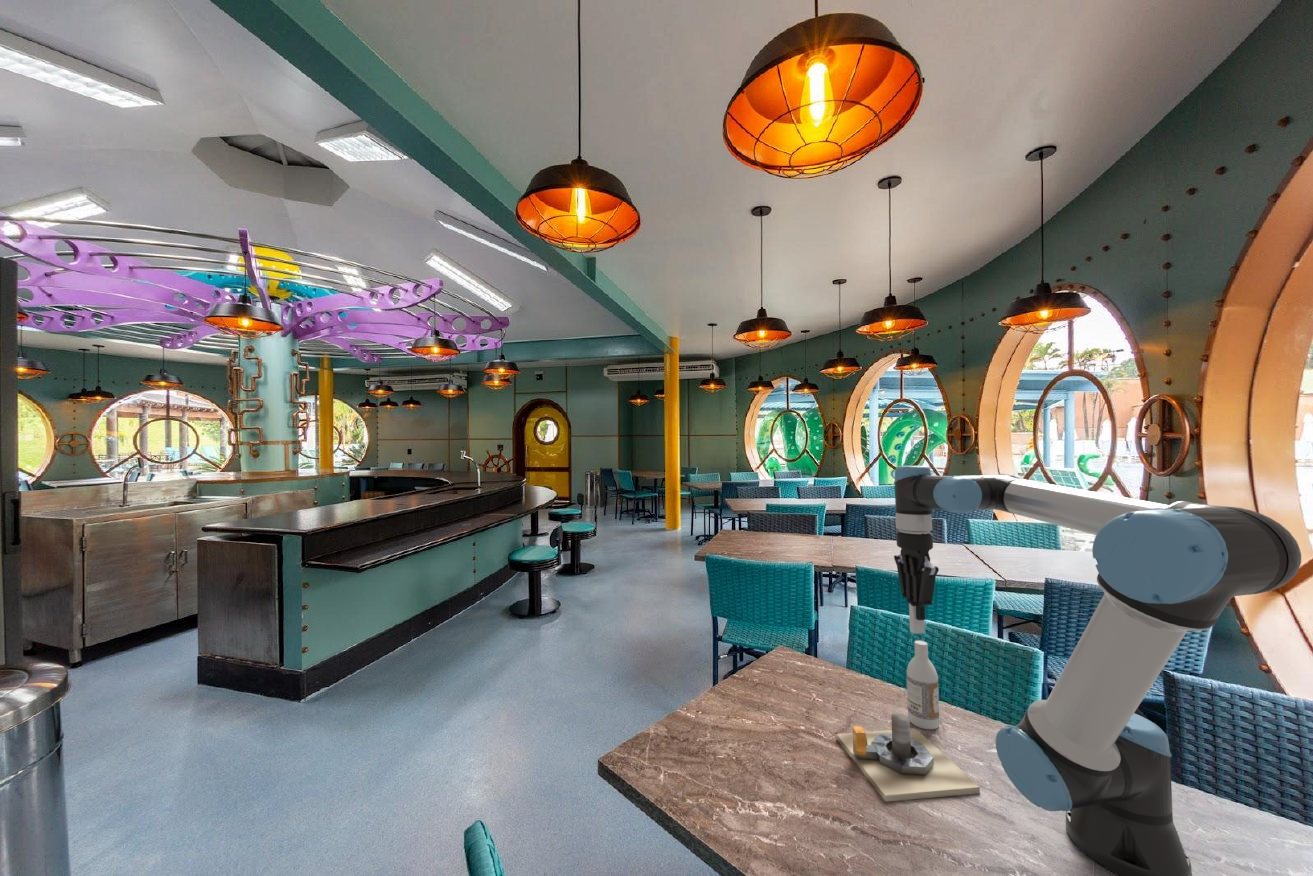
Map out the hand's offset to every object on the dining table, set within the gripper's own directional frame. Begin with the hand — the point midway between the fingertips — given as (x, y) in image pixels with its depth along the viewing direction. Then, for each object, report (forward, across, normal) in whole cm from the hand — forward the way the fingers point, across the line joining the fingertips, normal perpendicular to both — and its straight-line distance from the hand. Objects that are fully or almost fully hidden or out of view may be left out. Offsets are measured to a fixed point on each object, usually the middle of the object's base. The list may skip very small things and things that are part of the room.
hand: (917, 632), depth 108 cm
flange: (+25, -5, +10) cm, 27 cm away
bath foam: (+27, +9, -7) cm, 29 cm away
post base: (+26, -5, +8) cm, 28 cm away
